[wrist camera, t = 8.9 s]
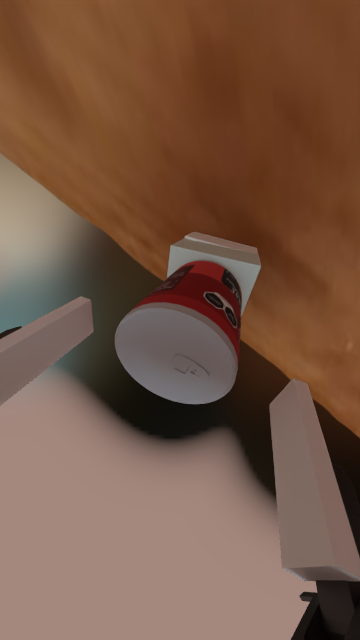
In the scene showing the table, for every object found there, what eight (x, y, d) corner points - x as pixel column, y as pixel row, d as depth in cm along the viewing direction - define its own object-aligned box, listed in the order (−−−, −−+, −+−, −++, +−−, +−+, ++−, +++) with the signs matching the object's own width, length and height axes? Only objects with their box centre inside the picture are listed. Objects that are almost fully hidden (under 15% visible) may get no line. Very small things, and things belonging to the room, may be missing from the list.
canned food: (234, 330, 22) (225, 418, 13) (169, 317, 23) (121, 386, 14) (250, 263, 17) (253, 324, 9) (170, 253, 19) (103, 296, 10)
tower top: (258, 254, 21) (261, 266, 17) (234, 319, 26) (232, 339, 22) (184, 238, 23) (170, 245, 19) (174, 302, 28) (162, 318, 24)
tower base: (256, 247, 26) (258, 255, 21) (233, 303, 31) (231, 318, 26) (194, 231, 27) (184, 235, 23) (182, 287, 32) (172, 299, 28)
